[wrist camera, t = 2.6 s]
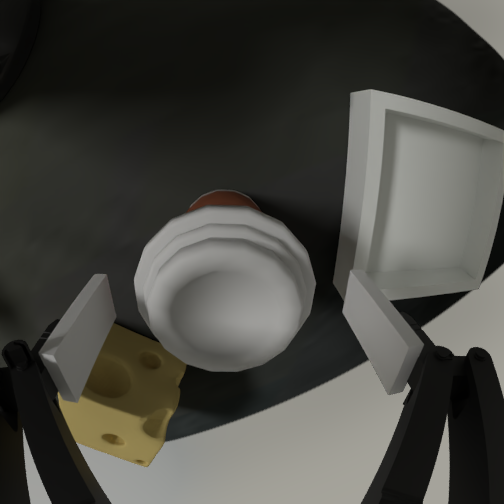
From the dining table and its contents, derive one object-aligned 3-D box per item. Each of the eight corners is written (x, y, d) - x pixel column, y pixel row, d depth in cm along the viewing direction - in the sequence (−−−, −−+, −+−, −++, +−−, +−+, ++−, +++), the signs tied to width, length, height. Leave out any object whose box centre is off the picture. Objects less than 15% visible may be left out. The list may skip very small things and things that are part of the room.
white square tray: (350, 93, 20) (370, 89, 17) (486, 129, 22) (510, 133, 18) (332, 282, 27) (346, 304, 24) (460, 273, 28) (478, 289, 25)
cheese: (188, 349, 29) (180, 431, 20) (158, 403, 32) (148, 472, 23) (93, 308, 26) (54, 381, 17) (79, 371, 29) (53, 436, 20)
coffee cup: (303, 216, 24) (365, 295, 13) (236, 296, 27) (246, 406, 16) (210, 147, 21) (195, 172, 10) (147, 241, 24) (96, 334, 13)
